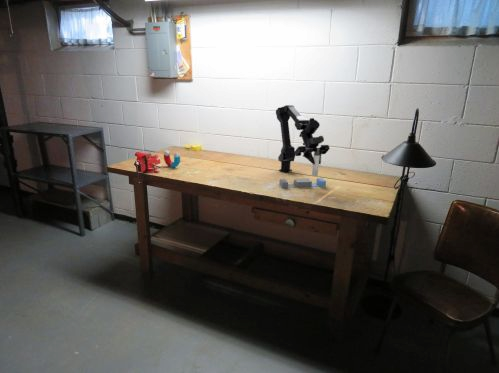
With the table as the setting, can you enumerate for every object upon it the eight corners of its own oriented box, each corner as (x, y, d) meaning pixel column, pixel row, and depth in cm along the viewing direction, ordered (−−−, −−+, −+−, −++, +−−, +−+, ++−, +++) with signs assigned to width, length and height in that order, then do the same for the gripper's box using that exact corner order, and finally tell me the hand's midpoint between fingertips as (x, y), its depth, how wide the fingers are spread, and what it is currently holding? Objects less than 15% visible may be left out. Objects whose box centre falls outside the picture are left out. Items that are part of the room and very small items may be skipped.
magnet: (180, 168, 222) (180, 152, 218) (177, 169, 219) (177, 153, 216) (167, 165, 228) (166, 149, 225) (164, 166, 225) (163, 150, 222)
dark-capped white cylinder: (311, 174, 193) (313, 150, 189) (317, 174, 192) (320, 150, 188) (311, 175, 190) (313, 151, 186) (317, 176, 189) (319, 152, 185)
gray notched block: (279, 186, 193) (279, 179, 191) (321, 184, 197) (322, 178, 196) (282, 189, 187) (282, 182, 186) (325, 188, 191) (326, 181, 190)
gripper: (298, 131, 184) (308, 157, 178) (329, 129, 190) (339, 154, 184) (290, 143, 193) (299, 168, 187) (320, 141, 200) (329, 165, 194)
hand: (317, 163), depth 188 cm, fingers closed on dark-capped white cylinder, 3 cm apart
